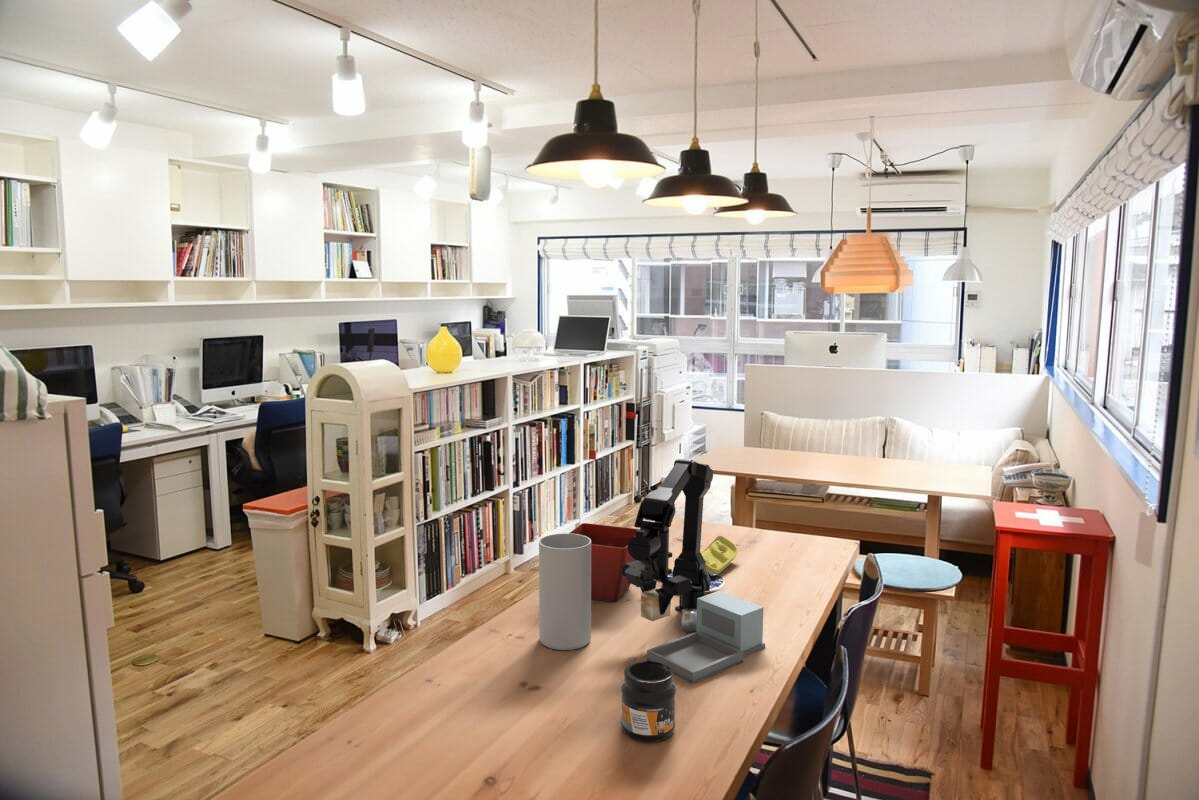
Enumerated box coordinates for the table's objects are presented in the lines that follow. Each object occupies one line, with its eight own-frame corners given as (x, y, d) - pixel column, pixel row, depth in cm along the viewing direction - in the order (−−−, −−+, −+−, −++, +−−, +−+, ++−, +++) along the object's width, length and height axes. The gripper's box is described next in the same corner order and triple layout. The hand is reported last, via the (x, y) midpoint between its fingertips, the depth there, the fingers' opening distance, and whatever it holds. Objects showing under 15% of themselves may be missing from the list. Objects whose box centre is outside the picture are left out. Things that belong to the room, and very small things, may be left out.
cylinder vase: (599, 635, 206) (599, 537, 203) (576, 655, 195) (576, 551, 192) (554, 626, 212) (554, 530, 208) (529, 645, 200) (529, 544, 197)
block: (640, 616, 201) (640, 592, 200) (658, 610, 205) (659, 586, 204) (652, 621, 198) (652, 597, 197) (670, 615, 202) (671, 591, 201)
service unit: (693, 637, 206) (694, 598, 204) (718, 627, 211) (718, 589, 210) (740, 657, 194) (741, 616, 193) (765, 647, 200) (766, 607, 199)
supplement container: (635, 749, 156) (636, 688, 154) (612, 722, 165) (612, 665, 164) (685, 737, 160) (686, 678, 158) (659, 712, 169) (660, 655, 168)
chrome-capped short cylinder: (677, 629, 210) (677, 610, 210) (689, 625, 213) (690, 606, 212) (690, 635, 207) (690, 616, 206) (702, 630, 210) (702, 611, 209)
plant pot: (644, 585, 242) (645, 528, 239) (624, 609, 224) (625, 548, 221) (582, 577, 248) (582, 522, 245) (558, 600, 230) (558, 540, 228)
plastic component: (716, 571, 247) (688, 552, 251) (706, 590, 250) (679, 571, 254) (743, 549, 263) (717, 531, 267) (733, 567, 266) (708, 549, 270)
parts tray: (646, 660, 193) (646, 650, 192) (696, 641, 203) (696, 631, 203) (692, 683, 182) (693, 672, 181) (743, 662, 192) (743, 651, 192)
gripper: (605, 545, 201) (605, 608, 203) (659, 565, 187) (658, 632, 189) (639, 537, 208) (638, 597, 210) (694, 555, 194) (692, 620, 196)
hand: (655, 611), depth 201 cm, fingers closed on block, 4 cm apart
